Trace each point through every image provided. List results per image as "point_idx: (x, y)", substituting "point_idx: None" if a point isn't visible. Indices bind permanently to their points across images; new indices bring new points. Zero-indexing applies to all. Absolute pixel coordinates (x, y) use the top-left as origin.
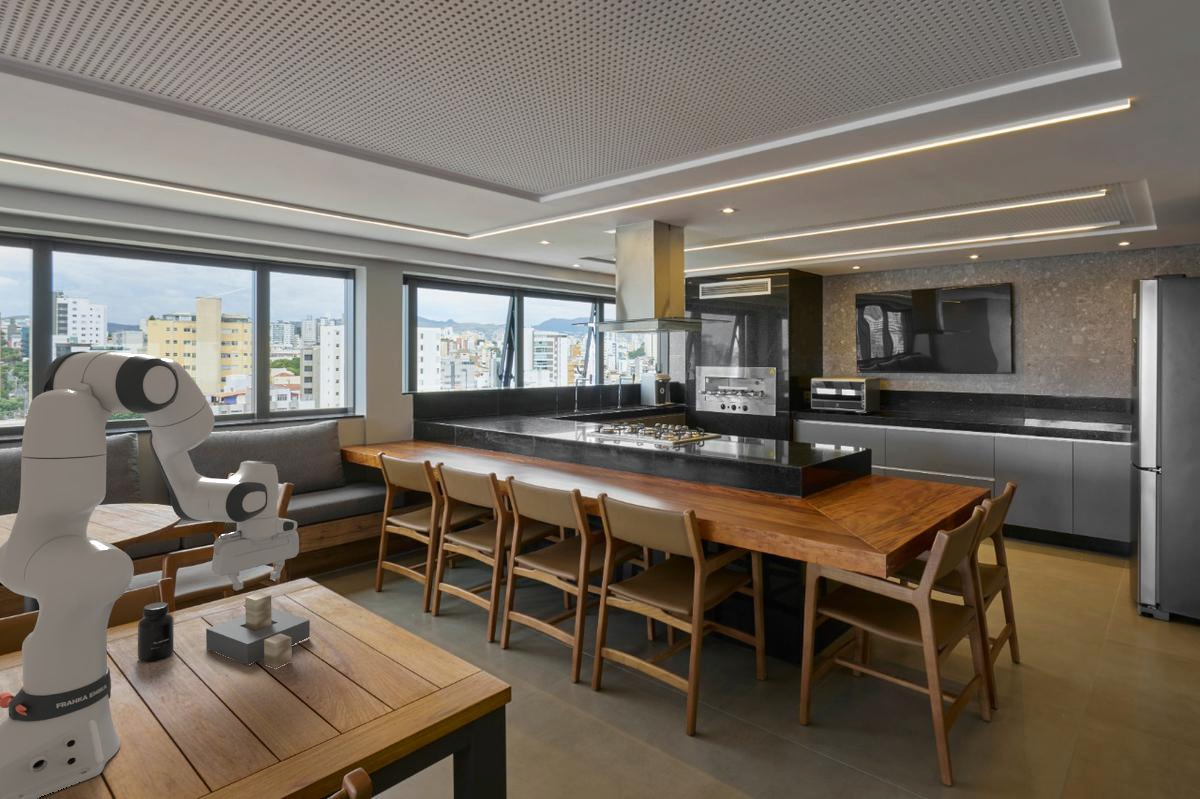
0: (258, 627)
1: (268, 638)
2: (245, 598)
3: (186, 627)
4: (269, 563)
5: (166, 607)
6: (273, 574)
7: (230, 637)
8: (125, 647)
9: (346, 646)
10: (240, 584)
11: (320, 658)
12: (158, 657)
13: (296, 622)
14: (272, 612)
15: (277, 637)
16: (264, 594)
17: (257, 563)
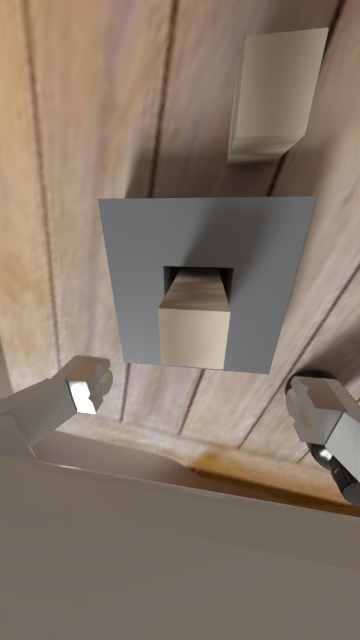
0: (213, 279)
1: (288, 131)
2: (222, 365)
3: (212, 425)
4: (82, 471)
5: None
6: (95, 383)
7: (291, 287)
8: (297, 437)
9: (78, 44)
10: (333, 399)
11: (172, 34)
12: (329, 375)
13: (133, 216)
14: (136, 331)
15: (269, 103)
16: (169, 335)
17: (254, 566)
